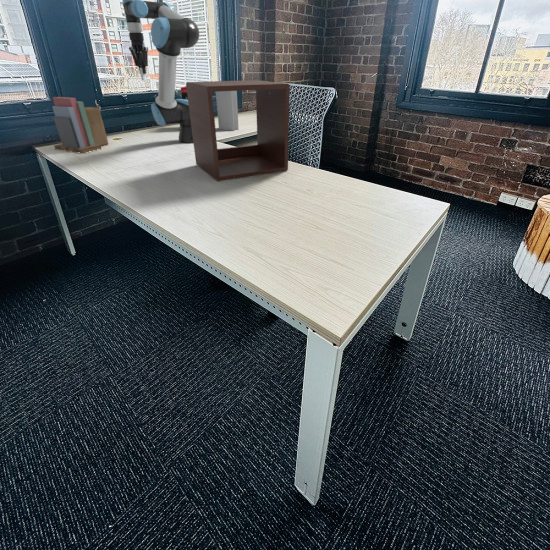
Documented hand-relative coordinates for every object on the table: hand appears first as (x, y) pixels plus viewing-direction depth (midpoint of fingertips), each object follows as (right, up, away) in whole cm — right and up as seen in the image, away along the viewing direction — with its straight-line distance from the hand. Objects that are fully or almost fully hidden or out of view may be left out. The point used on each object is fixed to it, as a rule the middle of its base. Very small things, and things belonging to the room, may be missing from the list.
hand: (144, 80), depth 202 cm
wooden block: (-27, -42, -4) cm, 50 cm away
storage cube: (+64, -69, -45) cm, 104 cm away
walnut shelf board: (-33, -47, -13) cm, 59 cm away
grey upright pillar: (+46, -13, +40) cm, 62 cm away
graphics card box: (+20, -11, +42) cm, 48 cm away
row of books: (-33, -45, -13) cm, 57 cm away
